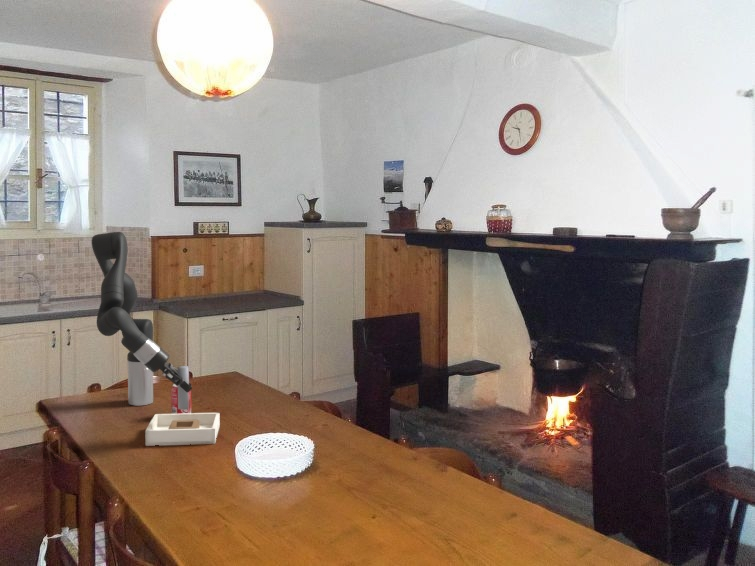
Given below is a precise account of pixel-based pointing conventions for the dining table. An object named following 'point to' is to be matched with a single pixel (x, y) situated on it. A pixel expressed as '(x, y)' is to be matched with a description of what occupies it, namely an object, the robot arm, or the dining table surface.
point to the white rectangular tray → (183, 429)
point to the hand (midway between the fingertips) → (189, 388)
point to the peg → (182, 394)
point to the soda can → (175, 401)
